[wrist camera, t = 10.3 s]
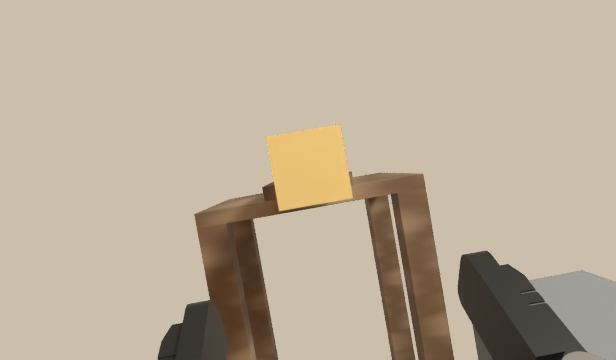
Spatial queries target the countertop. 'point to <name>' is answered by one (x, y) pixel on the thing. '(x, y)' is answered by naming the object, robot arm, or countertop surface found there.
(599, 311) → the block
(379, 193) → the stool
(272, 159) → the yellow bar
